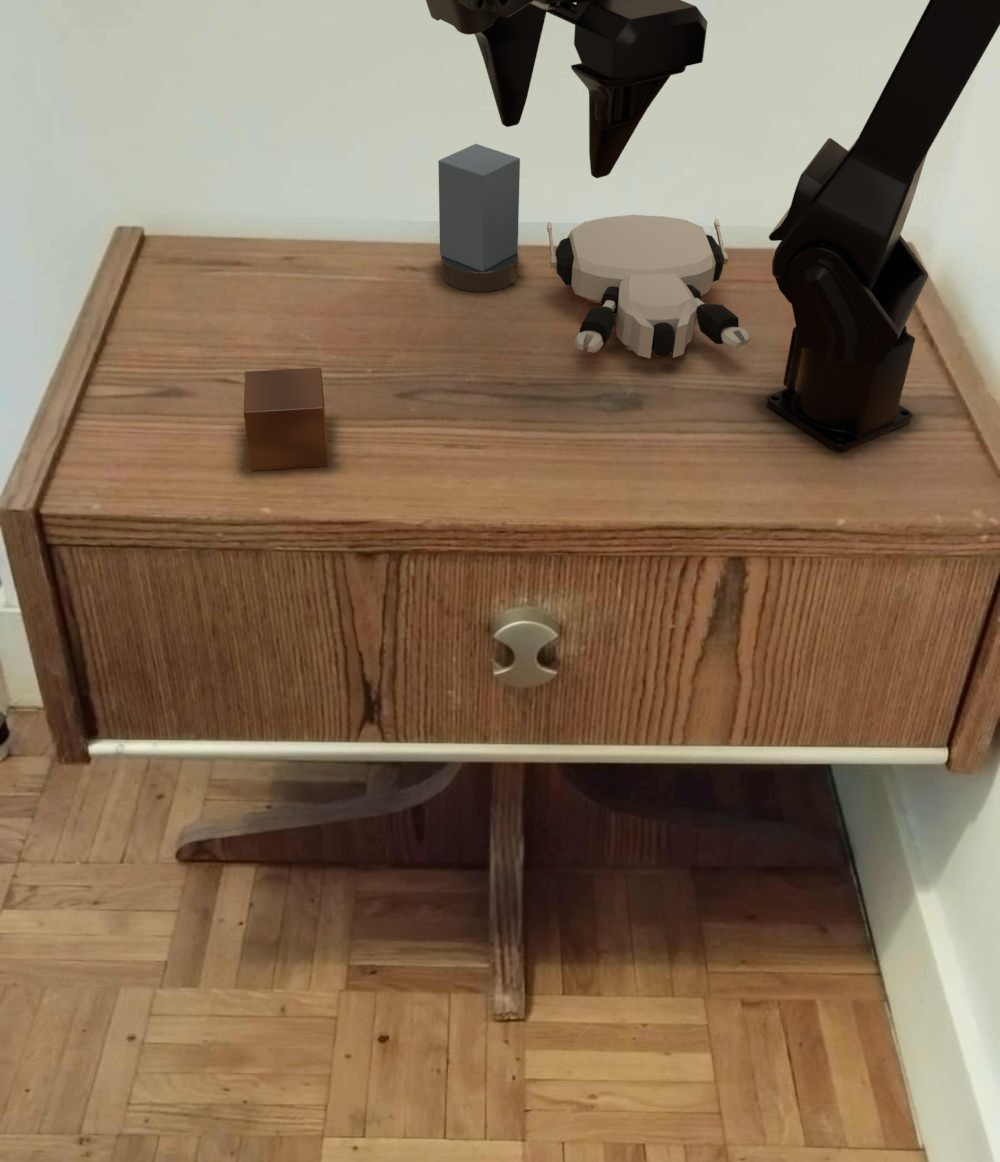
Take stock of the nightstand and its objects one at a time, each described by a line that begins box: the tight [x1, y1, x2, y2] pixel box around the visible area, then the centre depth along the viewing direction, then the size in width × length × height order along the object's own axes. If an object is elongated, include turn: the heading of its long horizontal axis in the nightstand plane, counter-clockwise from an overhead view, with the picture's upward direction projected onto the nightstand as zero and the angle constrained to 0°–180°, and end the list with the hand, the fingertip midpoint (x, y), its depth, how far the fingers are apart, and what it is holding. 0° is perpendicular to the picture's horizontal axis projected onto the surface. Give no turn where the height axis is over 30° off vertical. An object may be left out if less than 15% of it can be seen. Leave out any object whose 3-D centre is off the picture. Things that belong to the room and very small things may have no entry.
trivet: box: [440, 251, 520, 293], centre depth 93 cm, size 6×6×2 cm
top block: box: [438, 143, 521, 272], centre depth 90 cm, size 4×4×7 cm
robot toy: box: [546, 214, 751, 359], centre depth 87 cm, size 12×4×15 cm
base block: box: [243, 367, 329, 472], centre depth 75 cm, size 4×4×4 cm
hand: (553, 149), depth 77 cm, fingers open, 9 cm apart
